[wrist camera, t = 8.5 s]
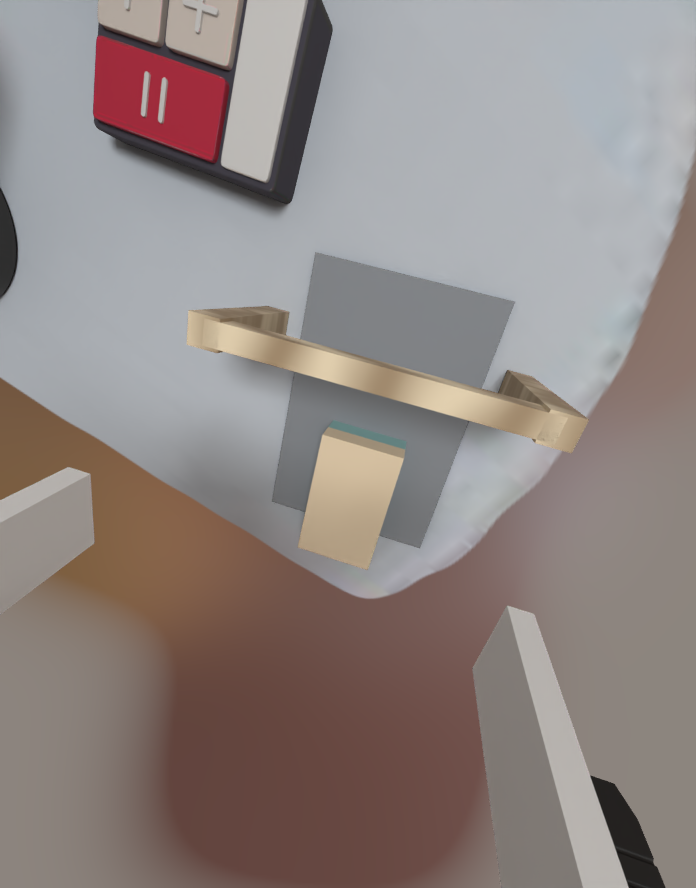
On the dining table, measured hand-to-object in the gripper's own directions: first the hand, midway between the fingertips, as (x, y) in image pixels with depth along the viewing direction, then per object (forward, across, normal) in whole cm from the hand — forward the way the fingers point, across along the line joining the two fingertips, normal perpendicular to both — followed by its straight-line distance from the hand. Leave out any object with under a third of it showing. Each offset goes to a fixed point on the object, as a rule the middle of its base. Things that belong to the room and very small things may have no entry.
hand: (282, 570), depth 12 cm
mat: (+24, +1, -2) cm, 24 cm away
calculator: (+25, -17, +19) cm, 35 cm away
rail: (+24, +1, +4) cm, 24 cm away
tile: (+20, 0, -10) cm, 22 cm away
